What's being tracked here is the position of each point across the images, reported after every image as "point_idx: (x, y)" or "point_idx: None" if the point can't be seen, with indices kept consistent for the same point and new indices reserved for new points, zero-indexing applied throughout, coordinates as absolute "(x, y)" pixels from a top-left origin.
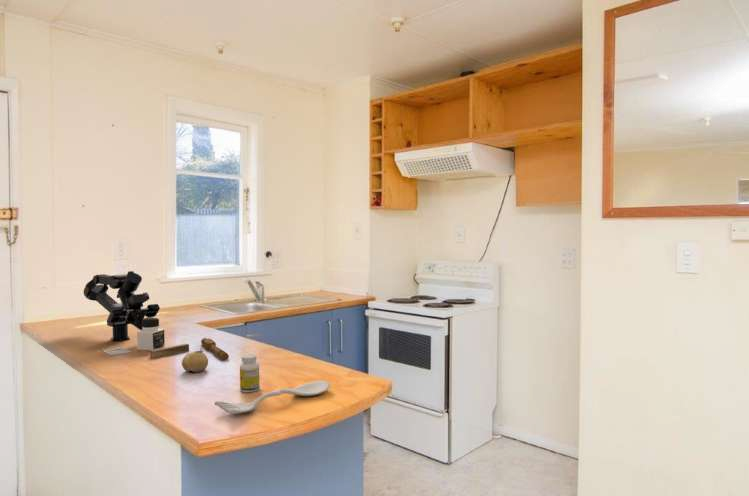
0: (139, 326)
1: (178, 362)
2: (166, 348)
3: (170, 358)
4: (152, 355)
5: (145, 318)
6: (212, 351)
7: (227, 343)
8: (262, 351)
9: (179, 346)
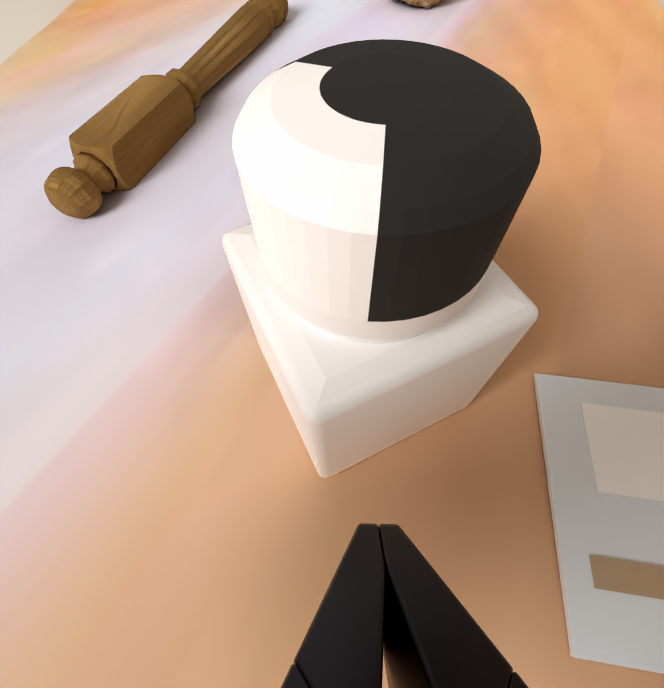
0: (425, 572)
1: None
2: None
3: None
4: None
5: (486, 105)
6: (214, 84)
7: (18, 155)
8: (114, 18)
9: None
